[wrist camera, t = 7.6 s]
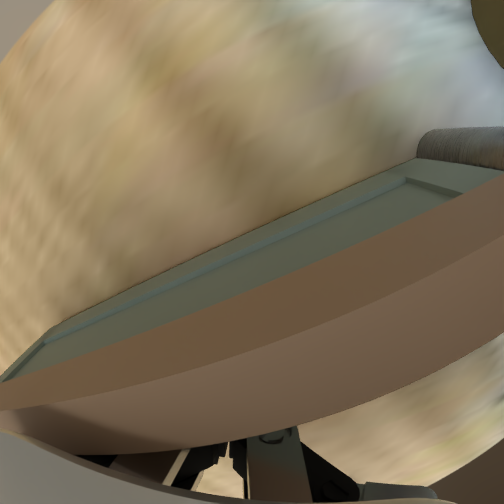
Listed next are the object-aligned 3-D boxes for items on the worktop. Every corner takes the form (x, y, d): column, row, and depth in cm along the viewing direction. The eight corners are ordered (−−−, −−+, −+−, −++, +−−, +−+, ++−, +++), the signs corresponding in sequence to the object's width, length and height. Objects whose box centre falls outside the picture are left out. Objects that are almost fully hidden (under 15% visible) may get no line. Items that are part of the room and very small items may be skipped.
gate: (414, 153, 10) (585, 180, 3) (427, 192, 11) (588, 265, 3) (48, 325, 14) (-44, 415, 7) (64, 349, 15) (-19, 445, 7)
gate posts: (465, 136, 11) (651, 156, 2) (350, 488, 18) (360, 589, 9) (418, 123, 11) (618, 117, 2) (321, 490, 18) (324, 594, 9)
